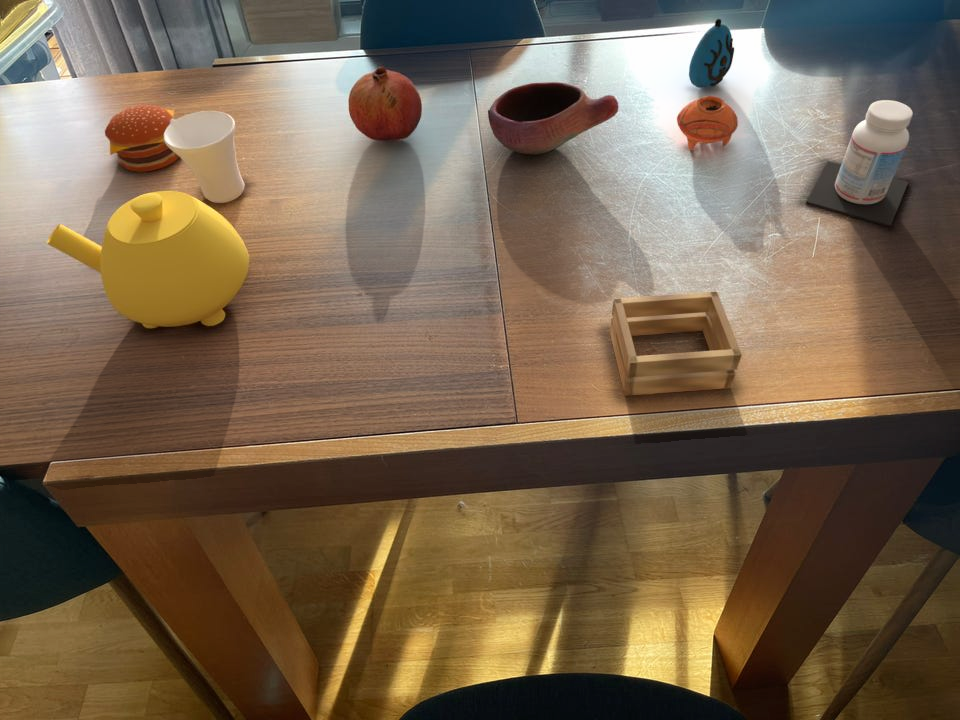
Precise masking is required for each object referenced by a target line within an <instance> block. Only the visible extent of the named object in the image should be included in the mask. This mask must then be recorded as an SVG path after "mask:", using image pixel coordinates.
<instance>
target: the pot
mask: <svg viewBox="0 0 960 720" xmlns="http://www.w3.org/2000/svg"><path fill="white" fill-rule="evenodd" d="M738 119H739V118H738V115H737V114H736V111H734V109H733V107H731V106H730V105H729V104H728V103H726V102H725V101H724V100H723V99H722V98H721V97H719V96H716V95H707V96H702V97H699V98H698V99H695V100H692V101H691V102H689V103H688V104H686V105H685V106H684V107H682V109H681V110H680V111H679V112H678V114H677V116H676V123H677V126H678V128H679V130H680V131H681V133H682V134H683V136H685V137H686V140H687V146H688V150H694V149H695V146H697V144H698V143H700V144H704V145H705V144H709V145H710V144H715V143H718V142H722V146H723V147H726V146H727V145H728V144H729V143H730V140H731V138H732V136H733V134H734V133H735V132H736V130H737V128H738V125H739V122H738V121H739V120H738Z"/></svg>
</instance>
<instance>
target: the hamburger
mask: <svg viewBox="0 0 960 720" xmlns="http://www.w3.org/2000/svg"><path fill="white" fill-rule="evenodd" d="M174 115H175V111H174V110H173V109H166V108H164V107H162V106H157V105H149V104H141V105H136V106H131V107H128V108H125V109H123V110H121V111H120V112H118V113H117V114H115V115H113V116H112V117H111V119H110V120H109V122H108V124H107V125H106V127H105V129H104V136H105V137H106V139H108V141H109V155H111V156H112V155H114V154H117V159H118V160H119V162H120V165H121V167H123V168H125V169H126V170H128V171H132V172H138V173H144V172H145V173H146V172H151V171H152V172H153V171H156V170H159V169H163V168H167V166H169V165H171V164H173V163H175V162H176V161H177V160H178V159H180V157H179V156H178V155H177V154H176V153H175V152H173V151H172V150H171V149H170V148H169V147H168V146H167V145H166V144H165V141H164V133H165V130H166V128H167V127H168V126H169V125H170V120H171V119H175V117H174Z"/></svg>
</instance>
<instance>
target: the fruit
mask: <svg viewBox="0 0 960 720" xmlns="http://www.w3.org/2000/svg"><path fill="white" fill-rule="evenodd" d="M348 113H349V117H350V119H351V121H352V123H353V124H354V126H355V128H356V130H358V131H359V132H360V133H361V134H362V135H363V136H365V137H366V138H368V139H370V140H373V141H377V142H389V141H400V140H405V139H407V138H409V137H410V136H411V135H412V134H413V133H414V131H415V130H416V129H417V127H418V125H419V123H420V121H421V118H422V114H423V104H422V98H421V96H420V93H419V91H418V89H417V87H416V86H415V84H414V83H413V81H412V80H410V78H409V77H407V76H406V75H403V74H402V73H400V72H398V71H393V70H389V69H386V68H385V67H384V66H379V67H378V68H376V69H375V71H373V72H369V73H365V74H363V76H361V77H360V78H359V79H357V80H356V81H355V83H354V85H353V86H352V87H351V89H350V91H349V95H348Z"/></svg>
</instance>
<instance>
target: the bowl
mask: <svg viewBox="0 0 960 720" xmlns="http://www.w3.org/2000/svg"><path fill="white" fill-rule="evenodd" d="M619 107H620V106H619V102H618V99H617V98H616V97H615V95H611V94H607V95H604V96H602V97H599V98H595V99H594V98H590V97H589V96H587V94H586V93H585V91H584V90H583V89H581V88H580V87H577V86H575V85H572V84H569V83H566V82H558V81H549V82H548V81H547V82H531V83H527V84H522V85H519V86H515V87H513V88H510V89H508V90H506V91H505V92H503V93H502V94H501V95H500V96H498V97H497V98H496V99H495V100H494V101H493V103H492V104H491V106H490V108H489V109H487V118H488V123H489V126H490V129H491V131H492V134H493V136H494V137H495V138H496V140H497V141H498V142H499V143H500V144H501V145H502V146H503V147H505V148H506V149H508V150H510V151H511V152H512V151H513V152H515V153H518V154H519V153H520V154H525V155H541V154H545V153H548V152H551V151H553V150H555V149H557V148H559V147H561V146H563V145H564V144H566V143H568V142H569V141H570V140H572V139H574V138H576V137H578V136H579V135H581V134H583V133H584V132H587V131H589V130H591V129H593V128H594V127H596V126H599V125H601V124H603V123H604V122H607V121H609V120H611V119H612V118H613V117H614V116H616V115H617V113H618V112H619Z"/></svg>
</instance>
